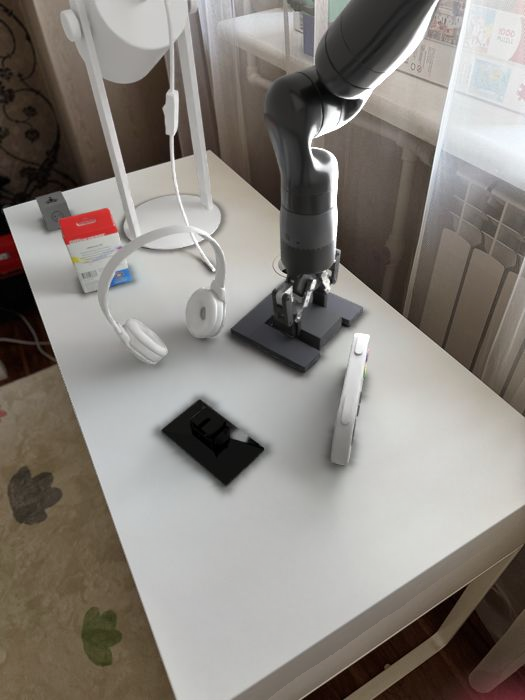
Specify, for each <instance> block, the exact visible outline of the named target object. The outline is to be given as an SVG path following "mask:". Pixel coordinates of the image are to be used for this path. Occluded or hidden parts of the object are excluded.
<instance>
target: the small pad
mask: <svg viewBox="0 0 525 700" xmlns="http://www.w3.org/2000/svg"><path fill="white" fill-rule="evenodd" d="M293 297H294V298H296V299H299V300H301V301H302V297H300V296H297V295H295V294H294V295H293ZM292 311H293V312H294V313H295V312H296V306H294V305H292ZM300 319H301V336H300V337H299V338H298V339H297V340H299V341H301V342H303V343H305V344H307V345H309V346H311V347H313V348H315V349H317V350H319V351H321V350H322V349H323V347H325V346H326V344H328V342H329V341H330V340H331V339H332V338H333V337H334V336H335V335H336V334H337V333H338V332H339V331H340V330H341V329H342V323H341V322H342V316H341V315H339V314H337V313H335V312H332V311H330V310H328V309H326V308H324V307H321V306H319V305H317V304H315V303H313V302H310V301H309V302H308V306H307V307H306V308H304V309H303V311H302V315H301V318H300ZM271 327H273V328H275V329H277V330H279V331H281V332H283V333H285V334H286V330H285V324H283V323H281V322H279V321H277V320H275V316H274V313H273V314H272V322H271Z"/></svg>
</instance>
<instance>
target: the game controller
mask: <svg viewBox="0 0 525 700" xmlns="http://www.w3.org/2000/svg"><path fill="white" fill-rule="evenodd" d="M370 337H371V336H370V334H366V333H359V332H355V333H354V334H353V337H352V341H351V347H350V351H349V355H348V361H347V364H346V365H347V366H346V369H345V375H344V380H343V384H342V390H341V394H340V399H339V402H338V409H337V412H336V418H335V424H334V430H333V437H332V442H331V443H332V444H331V449H330V452H331V453H330V462H331V463H332V464H336V465H340V466H348V465H349V462H350V458H351V452H352V446H353V443H354V438H355V432H356V426H357V417H359V413H360V407H361V405H360V404H361V401H362V397H363V391H362V390H363V386H364V385H363V384H364V379H365V378H366V373H367V363H368V360H369V354H370V350H369V346H370V339H371V338H370Z"/></svg>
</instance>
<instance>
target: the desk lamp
mask: <svg viewBox="0 0 525 700" xmlns="http://www.w3.org/2000/svg"><path fill="white" fill-rule="evenodd" d="M68 3H69V8H68V9H64V10H61V11H60V14H59V15H60V16H59V18H60V24H61V27H62V29H63V32H64V35H65V36H66V38H67V40H69V41H70V42H72V43H74V44H75V47H76V50H77V52H78V54H79V56H80V57H81V59H82V60H83V62H84V64H85V68H86V72H87V75H88V76H87V77H88V79H89V84H90V88H91V91H92V93H93V94H92V95H93V99H94V102H95V106H96V110H97V113H98V117H99V121H100V125H101V128H102V132H103V136H104V140H105V144H106V147H107V151H108V155H109V158H110V159H109V160H110V163H111V166H112V170H113V174H114V178H115V182H116V186H117V190H118V193H119V197H120V201H121V205H122V209H123V212H124V215H125V216H124V217H125V219H124V222H123V232H124V234H125V236H126V238H127V239H128V240H129V241H132V240H133V239H135V238H137V237H139V236H141V235H143V234H145V233H148V232H150V231H153V230H156V229H159V228H163V227H167V226H175V225H186V226H192V227H196V228H199V229H201V230H203V231H204V232H206V233H207V234H209V235H210V236H212V235H213V233H214V232H216V230H217V229H218V228H219V226H220V223H221V220H222V213H221V210H220V208H219V207H218V205H216V204H215V203H214V202H213V196H212V195H213V194H212V187H211V180H210V171H209V162H208V155H207V148H206V140H205V132H204V124H203V123H204V122H203V116H202V107H201V100H200V94H199V93H200V92H199V84H198V77H197V70H196V69H197V68H196V61H195V54H194V53H195V52H194V46H193V37H192V30H191V23H190V15H192V14H196V12H198V10H199V0H68ZM175 42H177V48H178V55H179V63H180V68H181V69H180V70H181V77H182V84H183V89H184V96H185V104H186V111H187V117H188V118H187V119H188V124H189V131H190V138H191V144H192V152H193V158H194V166H195V173H196V180H197V187H198V191H199V192H198V193H199V196H198V195H191V194H180V190H179V185H178V180H177V174H176V164H175V145H174V143H175V142H174V141H175V140H174V136H175V135H176V133H177V131H178V128H179V112H180V111H179V108H180V104H179V103H180V97H179V90H178V89H175ZM168 51H169V89H168V90H167V92H166V93H165V104H164V105H163V106H162V107H161V108H162V112H163V115H164V127H165V135H167V136H169V156H170V157H169V159H170V168H171V176H172V182H173V188H174V192H175V194H171V195H170V194H169V195H164V196H159V197H155V198H152V199H150V200H148V201H147V200H146V201H145V202H143V203H141V204H140V205H138V206H136V207H135V205H134V200H133V196H132V192H131V188H130V183H129V179H128V176H127V173H126V168H125V164H124V160H123V156H122V152H121V147H120V143H119V139H118V135H117V132H116V127H115V123H114V119H113V115H112V111H111V107H110V103H109V99H108V94H107V91H106V86H105V83H104V80H106V81H109V82H112V83H116V84H120V85H121V84H123V85H125V84H126V85H127V84H132V83H136V82H138V81H141V80H143V78H145V77H147V75H148V74H149V73H150V72H151V71H152V70H153V68H155V66H156V65H157V64H158V63H159V62H160V60H161V59H162V57H164V56H165V54H166V53H167V52H168ZM204 240H205V239H204V238H202V237H201V236H200V235H198V234H197V233H177V234H172V235H168V236H165V237H162V238H159V239H156V240H154V241H152V242H149V243H147V244H145V245H143V246H142V247H143V248H146V249H150V250H158V251H169V250H177V249H182V248H187V247H190V246H193V245H194V246H195V247H196V249H197V251H198V252H199V254H200V256H201V257H202V259H203V260H204V262H205V264H207V266H208V267H209V269H210V270H211V271H212V272H216V267H214V265H213V264H212V263H211V262H210V260H209V258H208V257H207V256H206V253H204V251H203V249H202V248H201V246H200V244H199V243H200V242H202V241H204Z"/></svg>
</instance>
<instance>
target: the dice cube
mask: <svg viewBox="0 0 525 700" xmlns="http://www.w3.org/2000/svg"><path fill="white" fill-rule="evenodd" d="M35 201H36V203H37V206H38V208H39V211H40V213H41V216H42V218H43V221H44V223H45V225H46V227H47V230H48V232H53V231H55V230H58V229H61V227H60V225H59V223H58V220H59V219H61V218H66V217H70V216H72V214H71V211H70V208H69V205H68V203H67V200H66V199H65V196H64V194H63V193H62V190H59V191H54V192H51V193H48V194H44V195H40V196H37V197H35Z"/></svg>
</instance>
